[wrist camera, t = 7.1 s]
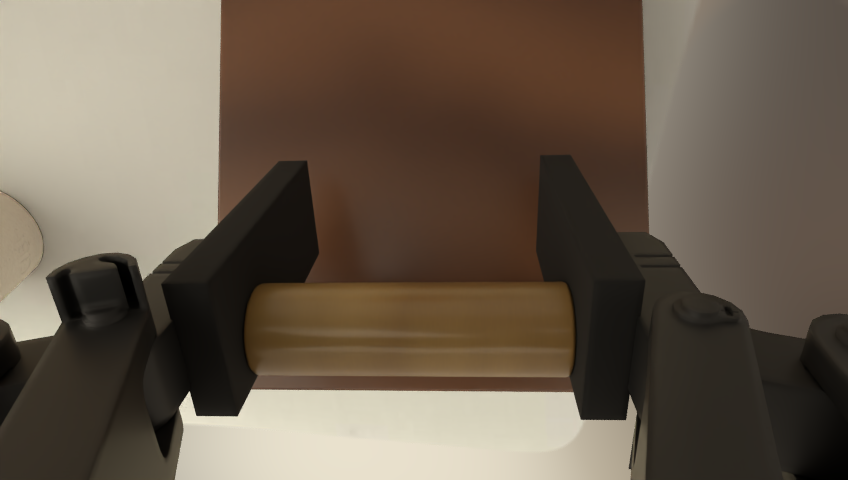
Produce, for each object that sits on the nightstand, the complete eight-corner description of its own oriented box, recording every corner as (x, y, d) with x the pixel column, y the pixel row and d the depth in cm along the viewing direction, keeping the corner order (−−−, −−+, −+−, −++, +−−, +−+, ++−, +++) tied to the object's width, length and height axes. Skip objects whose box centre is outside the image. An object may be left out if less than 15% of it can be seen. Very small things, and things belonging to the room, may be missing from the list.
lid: (645, 387, 17) (778, 471, 10) (225, 384, 18) (65, 458, 10) (632, -89, 18) (746, -332, 10) (232, -69, 18) (87, -283, 11)
